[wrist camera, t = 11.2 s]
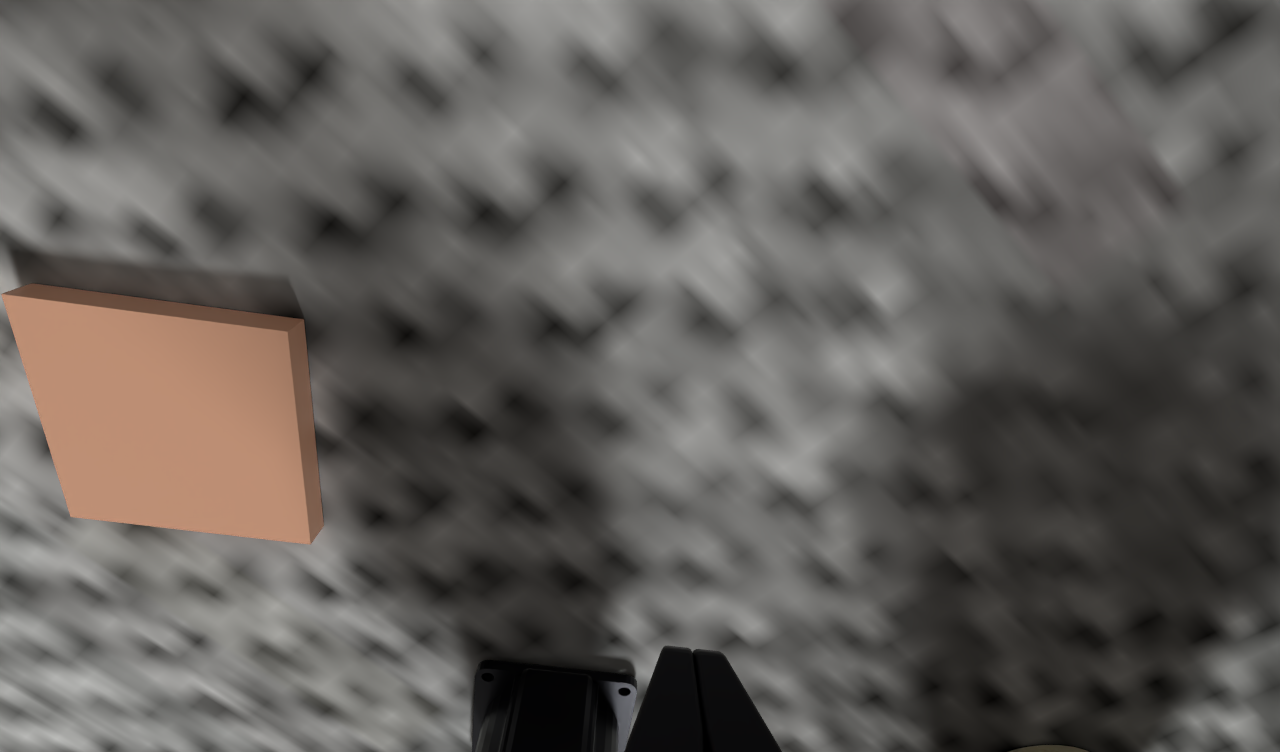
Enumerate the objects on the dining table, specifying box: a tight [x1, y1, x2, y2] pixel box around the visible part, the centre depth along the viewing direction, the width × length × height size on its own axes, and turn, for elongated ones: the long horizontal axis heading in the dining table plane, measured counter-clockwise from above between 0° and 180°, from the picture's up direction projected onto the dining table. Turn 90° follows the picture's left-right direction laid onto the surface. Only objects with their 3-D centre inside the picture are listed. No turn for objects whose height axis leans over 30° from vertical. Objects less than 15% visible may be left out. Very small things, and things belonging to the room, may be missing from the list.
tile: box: [1, 283, 324, 544], centre depth 21 cm, size 8×8×1 cm
